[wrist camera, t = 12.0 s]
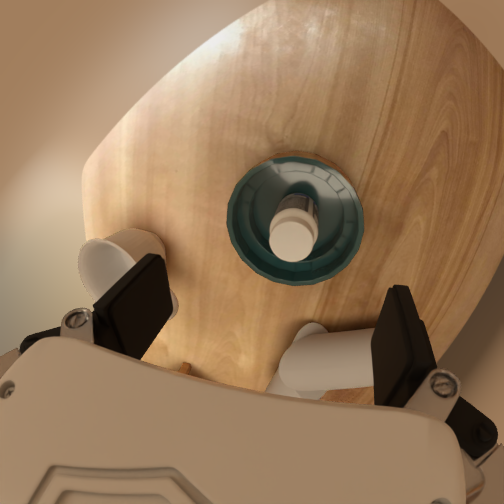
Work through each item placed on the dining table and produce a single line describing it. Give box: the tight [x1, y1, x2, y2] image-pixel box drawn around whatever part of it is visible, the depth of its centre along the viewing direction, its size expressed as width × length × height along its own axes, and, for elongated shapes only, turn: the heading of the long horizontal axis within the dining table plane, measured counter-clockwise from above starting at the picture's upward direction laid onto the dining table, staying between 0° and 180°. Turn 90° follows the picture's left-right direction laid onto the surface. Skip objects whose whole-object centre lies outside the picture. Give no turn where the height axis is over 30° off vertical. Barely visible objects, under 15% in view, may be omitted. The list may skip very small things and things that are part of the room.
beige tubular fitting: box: [265, 323, 375, 400], centre depth 37 cm, size 18×10×20 cm
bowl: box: [227, 151, 364, 286], centre depth 31 cm, size 14×14×5 cm
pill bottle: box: [269, 193, 318, 262], centre depth 29 cm, size 5×5×8 cm
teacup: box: [78, 228, 179, 321], centre depth 36 cm, size 12×15×10 cm
